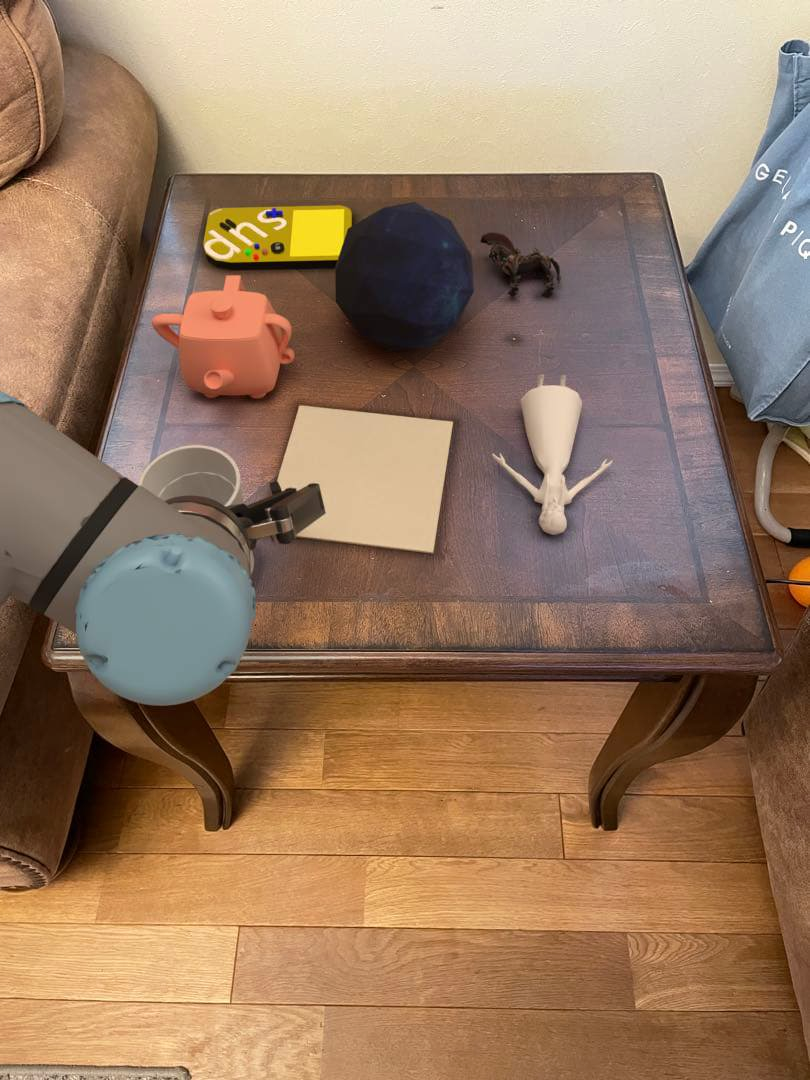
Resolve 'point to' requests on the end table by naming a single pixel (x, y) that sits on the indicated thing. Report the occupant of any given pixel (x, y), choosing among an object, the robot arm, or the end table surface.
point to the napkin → (370, 475)
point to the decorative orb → (403, 277)
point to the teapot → (228, 341)
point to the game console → (276, 237)
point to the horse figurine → (520, 262)
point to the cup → (195, 476)
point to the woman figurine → (551, 448)
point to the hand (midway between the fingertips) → (203, 513)
